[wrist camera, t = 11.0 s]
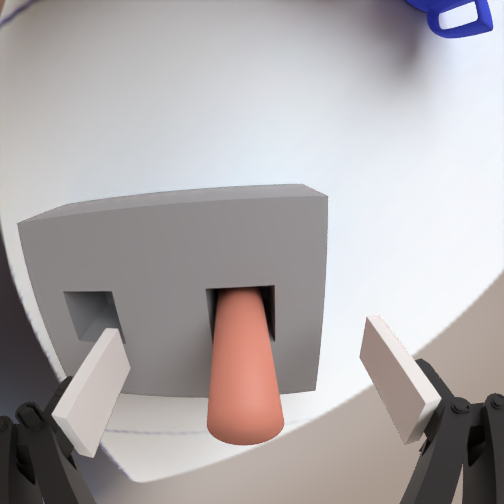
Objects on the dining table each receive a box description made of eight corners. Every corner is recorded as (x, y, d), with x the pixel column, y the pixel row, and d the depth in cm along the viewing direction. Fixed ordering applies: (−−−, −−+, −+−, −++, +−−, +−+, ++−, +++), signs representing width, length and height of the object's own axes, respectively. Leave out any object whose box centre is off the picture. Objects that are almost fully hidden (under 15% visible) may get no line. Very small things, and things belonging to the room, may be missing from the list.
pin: (218, 260, 23) (202, 403, 9) (258, 259, 23) (285, 400, 10) (221, 295, 24) (211, 445, 10) (258, 293, 24) (282, 442, 11)
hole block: (99, 341, 26) (71, 385, 19) (66, 204, 22) (17, 223, 15) (299, 338, 26) (315, 390, 20) (301, 183, 22) (328, 196, 15)
